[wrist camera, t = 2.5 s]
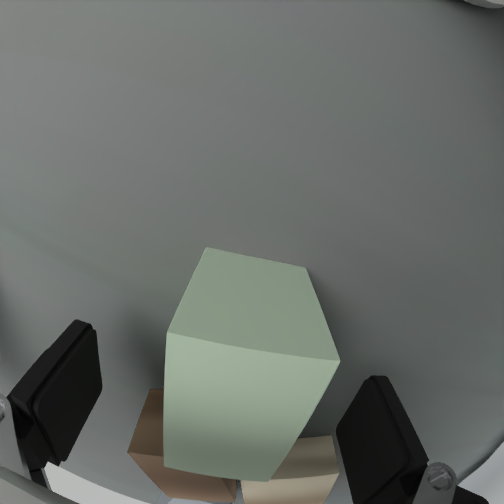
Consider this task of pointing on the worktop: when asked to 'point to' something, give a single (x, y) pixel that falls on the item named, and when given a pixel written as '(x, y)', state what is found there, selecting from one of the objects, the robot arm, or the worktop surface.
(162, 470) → the walnut brick
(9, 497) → the robot arm
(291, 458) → the birch brick
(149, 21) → the worktop surface
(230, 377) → the sage brick
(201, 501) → the slate brick
